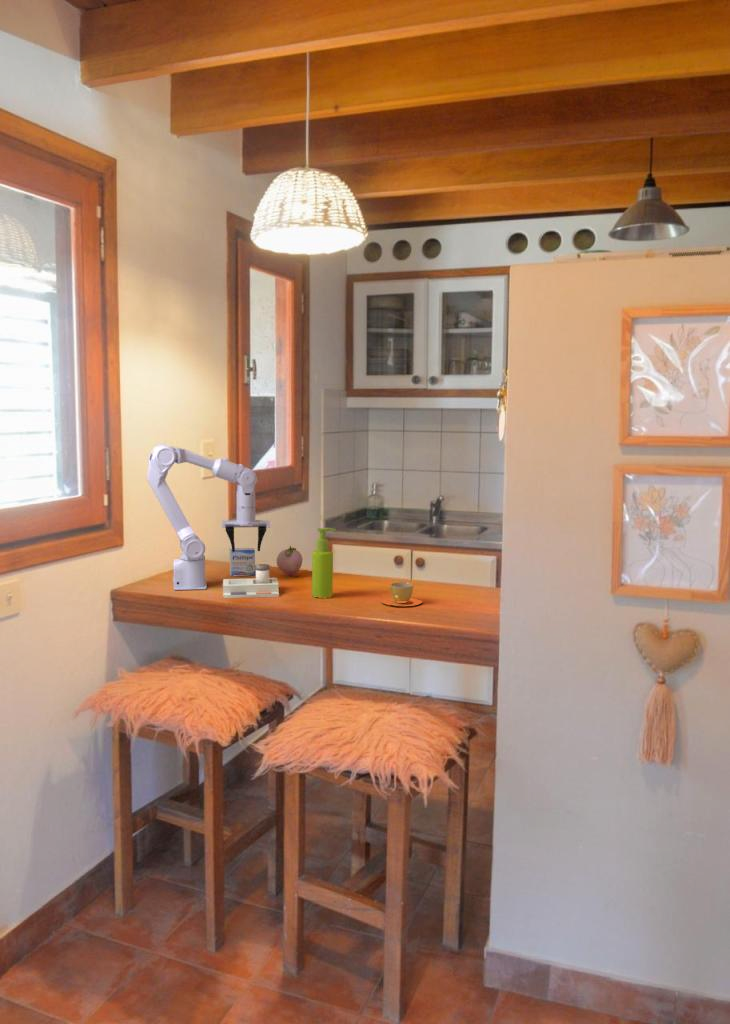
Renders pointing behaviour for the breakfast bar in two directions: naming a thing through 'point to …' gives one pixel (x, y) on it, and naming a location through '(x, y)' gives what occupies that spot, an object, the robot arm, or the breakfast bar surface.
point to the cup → (401, 591)
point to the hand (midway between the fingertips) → (246, 550)
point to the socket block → (249, 588)
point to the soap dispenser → (322, 567)
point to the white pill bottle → (262, 573)
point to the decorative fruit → (289, 561)
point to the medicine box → (242, 561)
